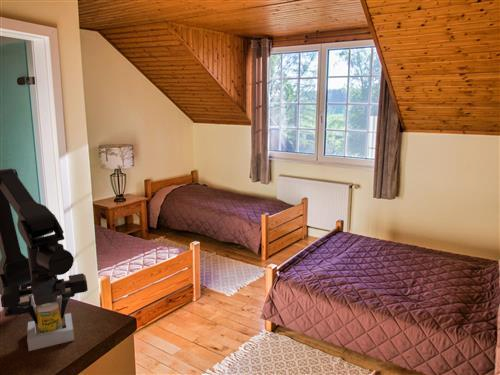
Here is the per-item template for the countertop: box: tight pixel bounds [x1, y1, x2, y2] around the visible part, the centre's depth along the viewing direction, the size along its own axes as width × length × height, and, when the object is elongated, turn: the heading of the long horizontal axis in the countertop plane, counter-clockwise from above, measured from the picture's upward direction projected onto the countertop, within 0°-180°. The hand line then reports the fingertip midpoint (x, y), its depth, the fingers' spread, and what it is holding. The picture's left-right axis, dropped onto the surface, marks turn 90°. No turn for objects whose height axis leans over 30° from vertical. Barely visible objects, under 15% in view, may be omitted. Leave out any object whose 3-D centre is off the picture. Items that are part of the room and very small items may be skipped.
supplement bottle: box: [35, 299, 63, 334], centre depth 104 cm, size 5×5×10 cm
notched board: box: [26, 312, 75, 352], centre depth 104 cm, size 8×10×3 cm
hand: (49, 320), depth 104 cm, fingers closed on supplement bottle, 5 cm apart
